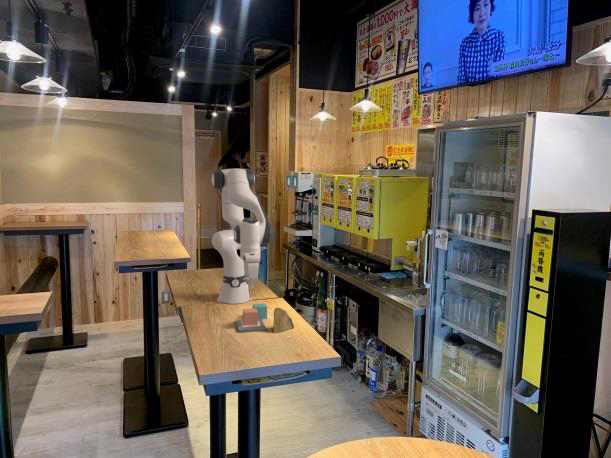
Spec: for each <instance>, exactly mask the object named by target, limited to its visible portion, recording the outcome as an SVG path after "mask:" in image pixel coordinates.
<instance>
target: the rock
mask: <svg viewBox="0 0 611 458" xmlns="http://www.w3.org/2000/svg"><path fill="white" fill-rule="evenodd" d="M294 328H295V325H294V323H293V318H291V317H290V315H289V314H288V312H287V311H286V310H285V309H282V308H281V307H275V308H274V311H273V325H272V333H273V334H276V333H283V332H285V331H288V330H291V329H294Z"/></svg>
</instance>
